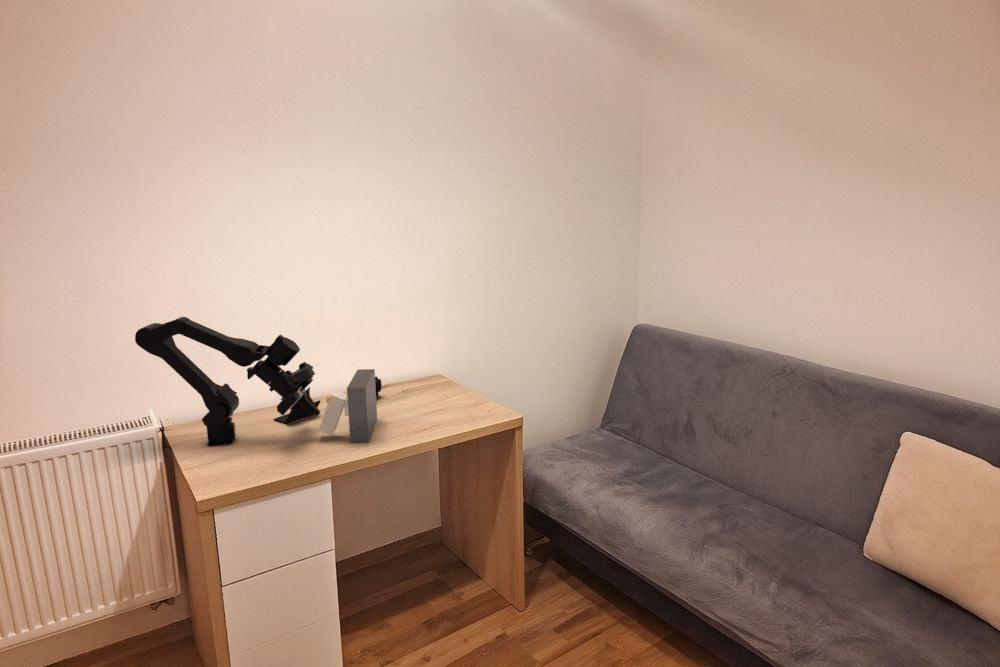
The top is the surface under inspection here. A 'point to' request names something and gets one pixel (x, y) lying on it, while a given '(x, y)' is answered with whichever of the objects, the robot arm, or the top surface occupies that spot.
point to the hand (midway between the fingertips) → (319, 414)
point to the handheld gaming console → (294, 415)
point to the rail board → (361, 406)
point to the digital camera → (377, 386)
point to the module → (332, 412)
